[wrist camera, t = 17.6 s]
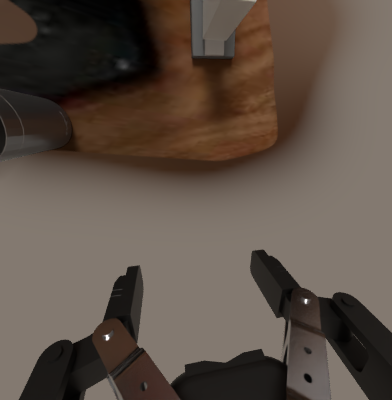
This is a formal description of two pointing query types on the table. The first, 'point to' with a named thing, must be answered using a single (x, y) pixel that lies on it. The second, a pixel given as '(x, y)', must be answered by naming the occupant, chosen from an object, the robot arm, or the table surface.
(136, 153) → the table surface
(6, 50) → the table surface
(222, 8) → the block
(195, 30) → the board
